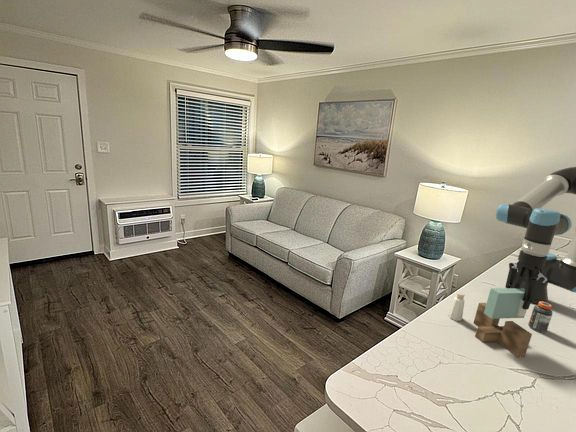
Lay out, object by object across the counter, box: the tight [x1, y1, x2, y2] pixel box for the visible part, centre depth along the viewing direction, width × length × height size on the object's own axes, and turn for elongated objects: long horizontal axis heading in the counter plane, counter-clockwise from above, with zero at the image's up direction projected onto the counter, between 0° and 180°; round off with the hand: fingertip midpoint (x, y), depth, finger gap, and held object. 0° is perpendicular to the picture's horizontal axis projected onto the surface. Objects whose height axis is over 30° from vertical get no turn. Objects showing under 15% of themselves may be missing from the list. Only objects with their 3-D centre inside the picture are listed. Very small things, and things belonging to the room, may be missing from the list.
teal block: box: [484, 287, 527, 319], centre depth 112 cm, size 14×4×10 cm, turn 101°
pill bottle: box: [528, 301, 553, 334], centre depth 124 cm, size 6×6×11 cm
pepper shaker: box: [447, 291, 465, 322], centre depth 126 cm, size 5×5×11 cm
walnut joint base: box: [473, 302, 533, 358], centre depth 114 cm, size 20×16×9 cm
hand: (515, 312), depth 114 cm, fingers closed on teal block, 3 cm apart
